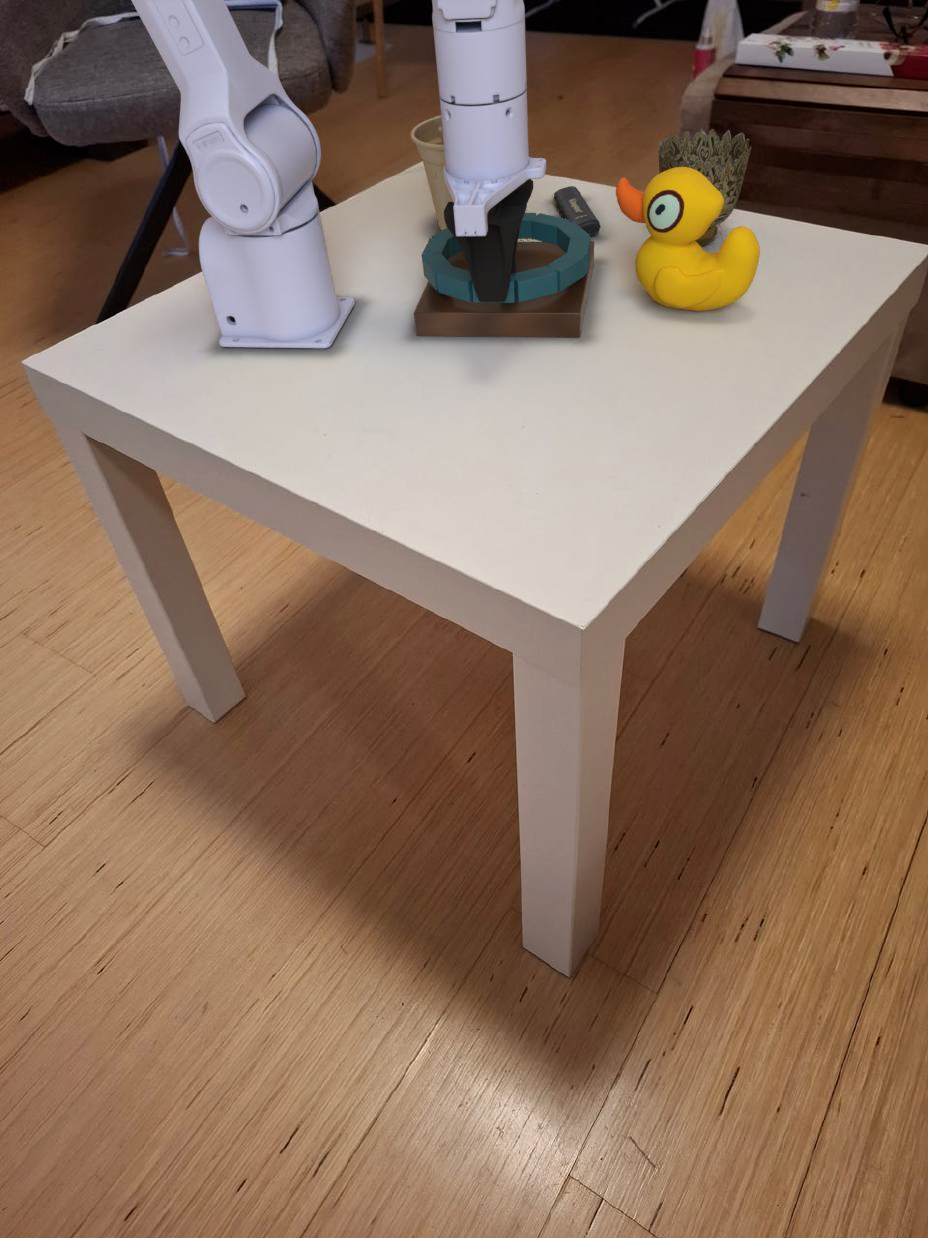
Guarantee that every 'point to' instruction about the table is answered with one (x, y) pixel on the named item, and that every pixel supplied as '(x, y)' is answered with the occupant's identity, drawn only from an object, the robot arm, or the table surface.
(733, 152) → the cup
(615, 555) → the table surface
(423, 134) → the flower pot
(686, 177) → the duckling
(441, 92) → the robot arm
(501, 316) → the ring toss peg base
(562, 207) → the usb stick
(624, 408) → the table surface
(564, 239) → the teal segmented ring
